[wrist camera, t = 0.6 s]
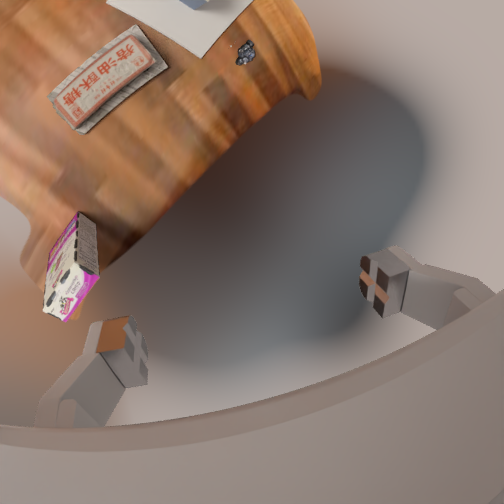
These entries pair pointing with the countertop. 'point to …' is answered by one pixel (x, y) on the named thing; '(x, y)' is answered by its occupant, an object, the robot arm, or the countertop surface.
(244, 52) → the blueberries
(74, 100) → the packaged product
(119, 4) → the rubber mat
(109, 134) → the countertop surface
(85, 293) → the candy bar box
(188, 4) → the card box
